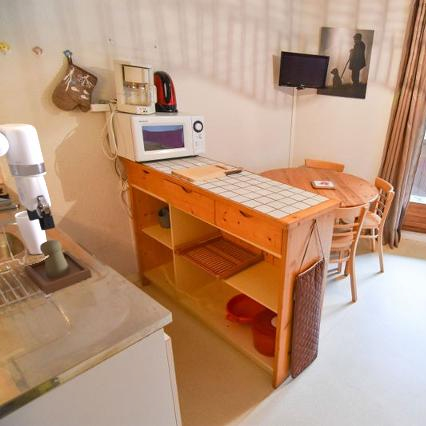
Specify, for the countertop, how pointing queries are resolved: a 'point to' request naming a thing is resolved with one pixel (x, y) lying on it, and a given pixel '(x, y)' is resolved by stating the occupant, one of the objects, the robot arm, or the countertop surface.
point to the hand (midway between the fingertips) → (42, 224)
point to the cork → (54, 259)
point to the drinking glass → (30, 232)
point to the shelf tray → (55, 283)
